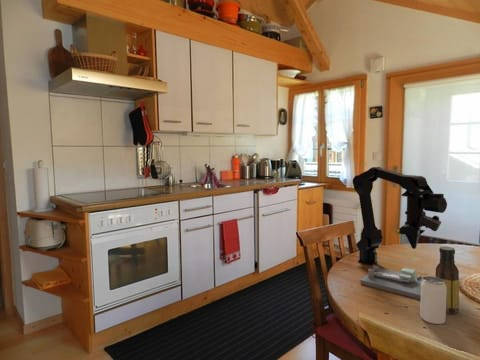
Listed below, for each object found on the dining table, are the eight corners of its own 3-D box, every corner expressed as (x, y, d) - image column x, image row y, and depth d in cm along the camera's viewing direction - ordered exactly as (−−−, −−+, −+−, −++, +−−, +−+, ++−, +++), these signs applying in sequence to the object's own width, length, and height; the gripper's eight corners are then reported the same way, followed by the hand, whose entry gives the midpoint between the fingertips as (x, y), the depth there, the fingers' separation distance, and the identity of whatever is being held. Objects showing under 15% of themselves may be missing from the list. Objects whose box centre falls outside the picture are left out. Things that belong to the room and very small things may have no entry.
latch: (398, 281, 117) (398, 272, 117) (403, 276, 122) (403, 267, 122) (410, 284, 115) (410, 275, 114) (415, 279, 119) (415, 270, 119)
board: (360, 283, 121) (360, 272, 120) (376, 270, 133) (376, 260, 133) (426, 301, 106) (426, 288, 106) (437, 284, 118) (437, 273, 118)
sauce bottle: (453, 305, 102) (455, 245, 101) (462, 315, 96) (465, 251, 95) (431, 304, 104) (433, 244, 102) (438, 313, 98) (441, 250, 96)
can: (436, 327, 90) (438, 286, 89) (415, 317, 96) (416, 278, 95) (450, 321, 93) (451, 281, 92) (428, 311, 99) (429, 274, 98)
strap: (370, 275, 124) (370, 272, 124) (373, 273, 126) (373, 270, 126) (408, 282, 115) (408, 279, 115) (411, 280, 117) (410, 277, 117)
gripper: (433, 215, 110) (432, 259, 112) (444, 207, 124) (443, 246, 125) (399, 211, 118) (398, 252, 119) (412, 204, 131) (411, 241, 133)
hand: (414, 248), depth 124 cm, fingers closed
